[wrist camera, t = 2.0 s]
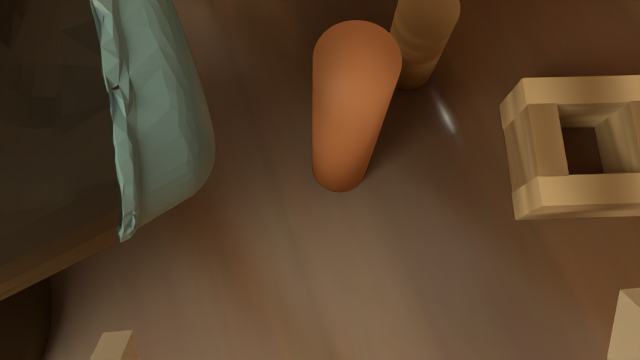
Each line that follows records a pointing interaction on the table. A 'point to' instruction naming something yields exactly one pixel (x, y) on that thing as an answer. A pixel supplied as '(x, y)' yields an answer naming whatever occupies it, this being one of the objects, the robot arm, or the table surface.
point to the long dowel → (350, 99)
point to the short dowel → (422, 37)
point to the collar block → (549, 154)
